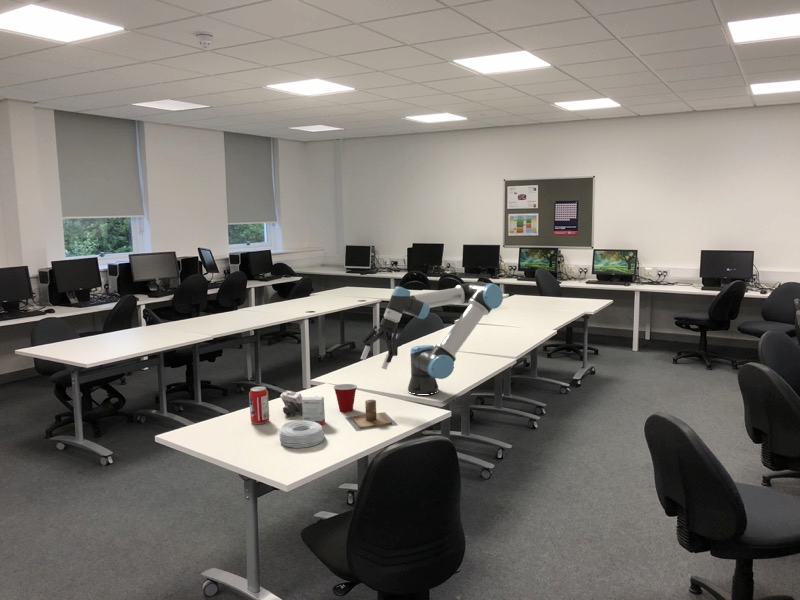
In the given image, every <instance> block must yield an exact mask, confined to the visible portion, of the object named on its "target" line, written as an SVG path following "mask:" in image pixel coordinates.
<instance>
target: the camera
mask: <svg viewBox="0 0 800 600" xmlns="http://www.w3.org/2000/svg"><path fill="white" fill-rule="evenodd" d="M304 397H305V396H302V394H301V393H300V392H296V391H292V390H285V391H283V392H282V393H281V394H280V399H281V400H282V402H283V404H284V406H283V407H282V412H283V414H284V415H285V416H288V417H292V416H293V415H295V414H299V415H303V410H302V400H303V398H304Z"/></svg>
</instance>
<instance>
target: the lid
mask: <svg viewBox="0 0 800 600" xmlns="http://www.w3.org/2000/svg"><path fill="white" fill-rule="evenodd" d="M364 402H365V403H364V405H365V414H361V415H354V416H350V417H351V419H352V420H353V421H354V423H355V424H356V425H357V426H358V427H359V428H360V429H363V428H370V427H377V426H383V425H390V424H392V422H391V421H390V420H389V419H388V418H387V417H386V416H385V415H384V414H383V412H377V400H375V399H367V400H365V401H364Z"/></svg>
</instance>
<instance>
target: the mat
mask: <svg viewBox="0 0 800 600" xmlns="http://www.w3.org/2000/svg"><path fill="white" fill-rule="evenodd" d="M382 413H383V414H384V415H385V416H386V417H387V418H388V419H389V420H390V421H391V422H392V424H390V425H383V426H377V427H370V428H363V429H360V428H359V427H358V426H357V425H356V424H355V423H354V421H353V420H352V419H351V417H352V416H348V417H345V419H346V420H347V422H348V423H349V424H350V425H351V426H352V427H353V429H354V430H355V431H356V432H361V431H368V430H374V429H375V430H376V429H381V428H382V429H383V428H389V427H395V426H399V424H398V423H397V422H396V421H395V420H393V419H392V418H391V417H390V415H388V414H387V413H386V411H385V412H382Z"/></svg>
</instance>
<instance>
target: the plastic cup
mask: <svg viewBox="0 0 800 600" xmlns="http://www.w3.org/2000/svg"><path fill="white" fill-rule="evenodd" d="M357 388H358V384H354V383H353V384H352V383H340V384H335V385H334V386H333V389H334V391H335V396H336V402H337V405H338V409H339V410H338V411H339V412H341V413H351V412H352V411H354V404H355V398H356V397H355V396H356V390H357Z"/></svg>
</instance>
